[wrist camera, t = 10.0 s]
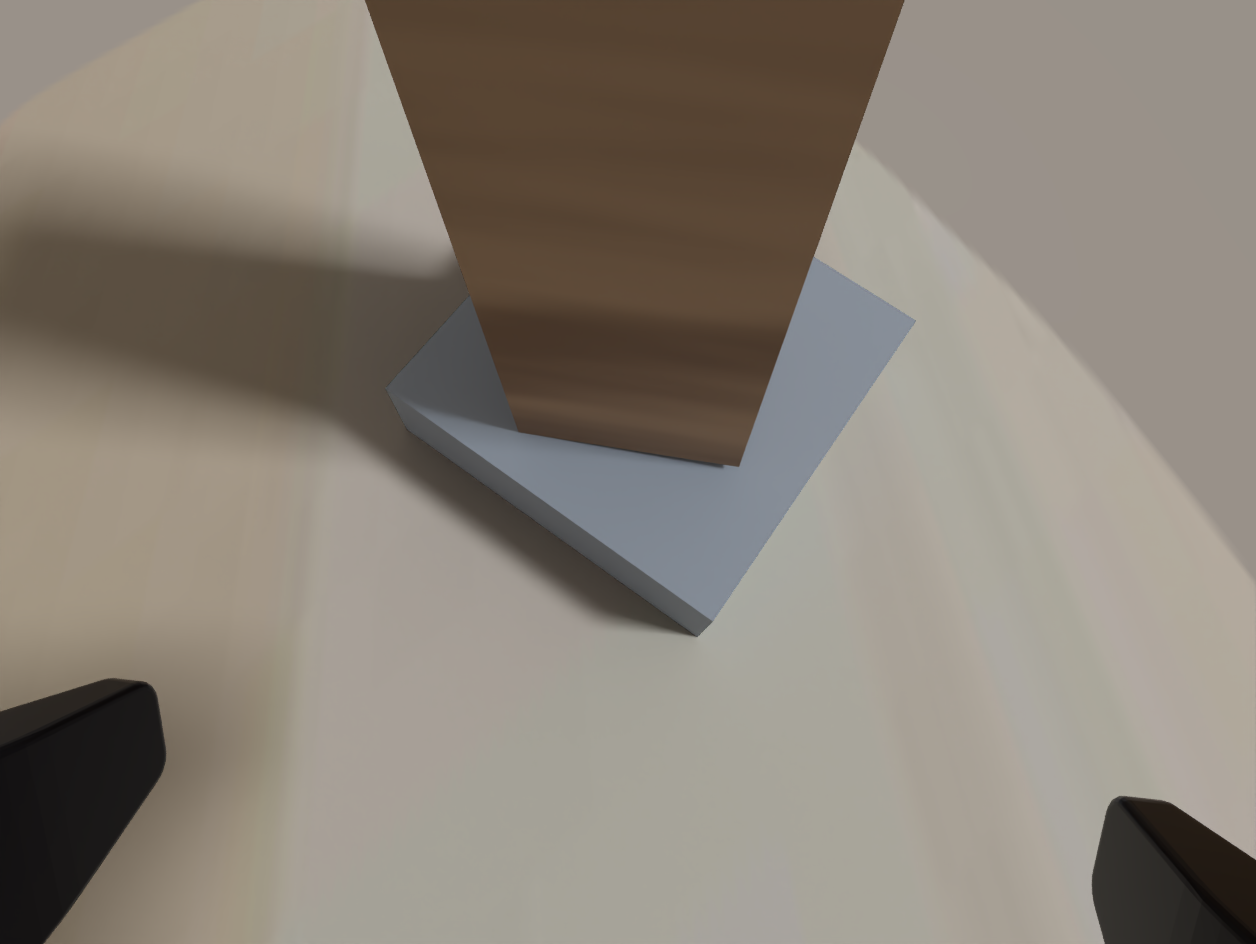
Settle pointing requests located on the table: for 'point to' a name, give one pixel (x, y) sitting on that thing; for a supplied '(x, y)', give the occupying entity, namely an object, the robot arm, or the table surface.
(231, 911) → the table surface
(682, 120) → the walnut block
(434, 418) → the slate base block
